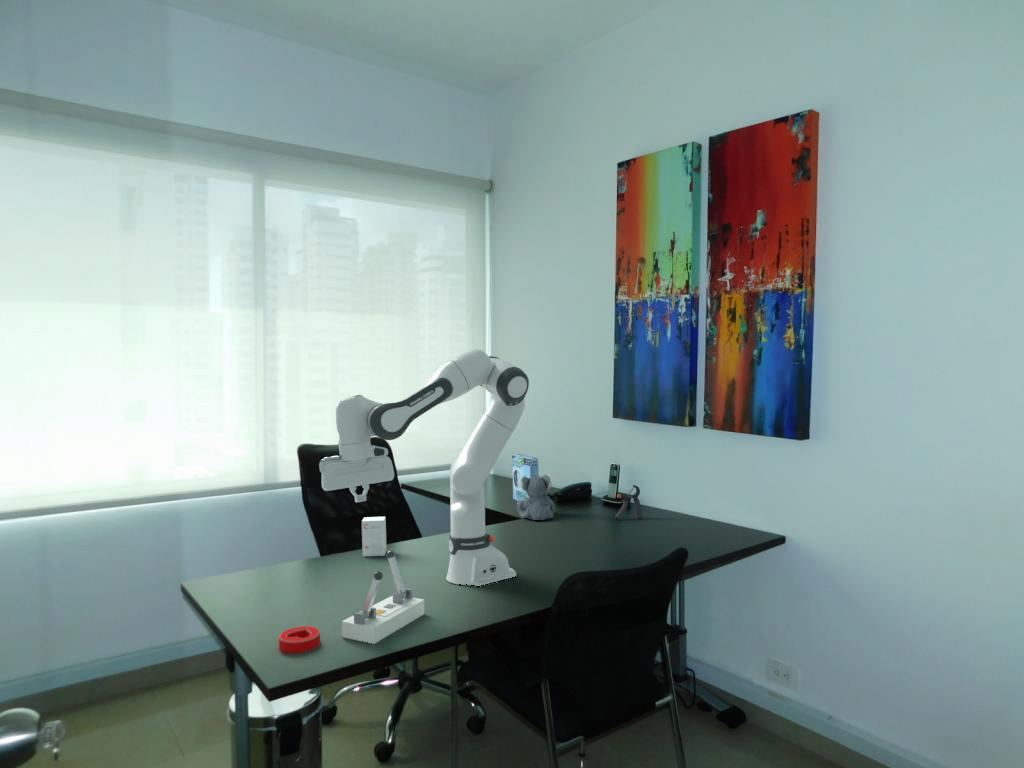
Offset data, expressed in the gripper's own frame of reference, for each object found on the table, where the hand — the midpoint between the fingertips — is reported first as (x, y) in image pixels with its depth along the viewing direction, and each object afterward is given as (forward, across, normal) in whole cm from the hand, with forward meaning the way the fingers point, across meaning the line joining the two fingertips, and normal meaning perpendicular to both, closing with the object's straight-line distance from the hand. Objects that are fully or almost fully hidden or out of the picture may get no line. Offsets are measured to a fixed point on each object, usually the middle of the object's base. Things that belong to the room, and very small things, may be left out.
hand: (360, 501), depth 190 cm
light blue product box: (+30, +107, +107) cm, 155 cm away
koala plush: (+32, +95, +75) cm, 125 cm away
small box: (+28, +16, +53) cm, 62 cm away
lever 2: (+26, +6, -10) cm, 28 cm away
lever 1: (+26, -7, -20) cm, 33 cm away
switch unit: (+31, -1, -15) cm, 34 cm away
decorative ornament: (+30, -23, -17) cm, 41 cm away
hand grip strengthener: (+36, +128, +52) cm, 143 cm away
